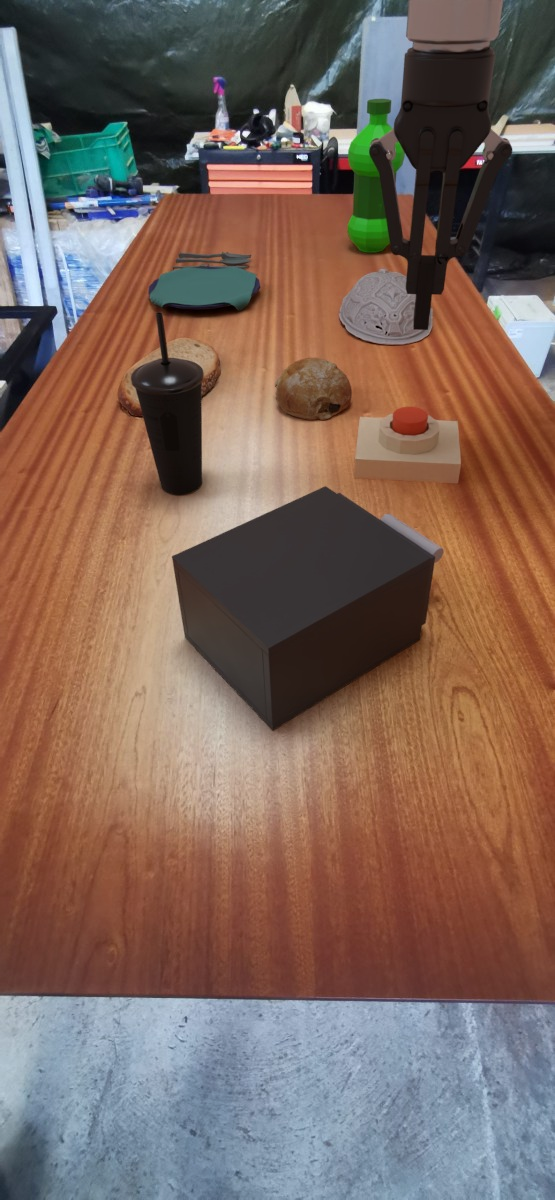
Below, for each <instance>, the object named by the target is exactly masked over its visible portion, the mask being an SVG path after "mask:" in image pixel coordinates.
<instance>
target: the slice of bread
mask: <svg viewBox="0 0 555 1200" xmlns="http://www.w3.org/2000/svg"><path fill="white" fill-rule="evenodd" d="M166 344H167V352H168V358H178V359H184V360H189V361H192V362H195V363H197V364H198V365H200V366H201V367H202V369H203V372H204V377H203V380H202V382H201V397H204V396H205V395H206V394H207V393H208V392H210V391H211V389H212V388H214V387H215V384H216V380H217V379H218V378H219V377H220V376H221V371H222V369H221V368H222V367H221V360H220V357H219V354H218V353H217V351H216V350H215V348H214V346H212V345H210V344H209V343H207V342H204V341H202V340H200V339H195V338H192V337H177V338H175V339H172V340H170V341H167V342H166ZM157 359H162V356H161V349H160V346H158V347H157V348H156V349H153V350H152V351H151V352H148V354H146V355H145V356H143V358H140V360H138V361H136V362H135V363H134V364H133V365H132V366H131V367H130V368H127V370H126V371H125V373H124V374H123V376H122V378H121V381H120V383H119V386H118V388H117V393H116V396H117V398H118V400H119V402H120V404H121V406H122V407H123V408H125V409H126V410H128V412H129V413H130V415H132V416H134V417H143V415H142V411H141V407H140V403H139V400H138V396H137V392H136V388H135V387H134V386H133V385H132V382H131V375H132V373H133V372H134V370H135V369H137V368H138V367H140V366H142V365H144V364H146V363H149V362H151V361H154V360H157Z"/></svg>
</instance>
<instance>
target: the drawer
mask: <svg viewBox="0 0 555 1200" xmlns="http://www.w3.org/2000/svg"><path fill="white" fill-rule="evenodd" d="M336 493H337V494H338V495H340V496H341V497H343V498H344V499H346V500H347V501H349V502H350V503H351V504H353V505H354V506H356V507H357V508H359V509H360V510H362V511H363V512H365V513H366V514H368V515H369V516H371V517H372V518H374V519H375V520H377V521H378V522H380V523H381V524H383V525H384V526H386V527H387V528H389V529H390V530H392V531H393V532H395V533H396V534H398V535H399V536H401V537H402V538H404V539H405V540H407V541H408V542H409V543H411V544H412V545H414V546H415V547H417V548H418V549H420V550H421V551H423V552H424V553H426V554H427V555H429V556H430V557H432V559H431V566H430V573H429V580H428V587H427V594H426V601H425V608H424V615H423V622H422V626H424V625H425V624H426V623H427V616H428V610H429V603H430V596H431V589H432V582H433V577H434V576H433V575H434V568H435V564H436V563H438V562H439V561H440V560H441V559H442V557H443V556H444V553H445V551H444V548H443V547H442V546H440V545H439V544H437V543H435V542H434V541H432V540H431V539H429V538H427V537H426V536H424V535H423V534H422V533H420V532H418V531H417V530H416V529H414V528H413V527H411V526H409V525H408V524H407V523H404V522H403V521H402V520H400V519H399V518H397V517H396V516H394V515H393V514H391V513H385V514H384V515H382V516H381V518H378V517H377V516H376V515H374V514H372V513H371V512H369V511H368V510H367V509H365V508H364V507H362V506H360V505H359V504H358V503H356V502H354V501H353V500H351V499H350V498H349V497H347V496H345V495H344V494H342V493H341V492H336Z"/></svg>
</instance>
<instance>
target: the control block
mask: <svg viewBox="0 0 555 1200" xmlns="http://www.w3.org/2000/svg"><path fill="white" fill-rule="evenodd" d="M392 421H393V413H389V414H387V415H385V416H384V417H375V416H373V417H372V416H360V417H359V421H358V430H357V438H356V445H355V454H354V465H353V466H354V468H353V478H354V479H362V480H363V479H364V480H384V481H403V482H404V481H406V482H421V483H442V484H459V480H460V475H461V467H462V457H461V456H462V455H461V446H460V433H459V421H458V420H444V419H443V420H441V419H435V418H434V417H432V416H431V415H428V420H427V428H426V431H425V432H424V433H423V434H419V435H415V436H412V435H402V434H399V433H396V432H394V431H393V429H392Z"/></svg>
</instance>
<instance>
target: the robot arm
mask: <svg viewBox="0 0 555 1200" xmlns="http://www.w3.org/2000/svg"><path fill="white" fill-rule="evenodd" d="M503 3H504V0H408V5H407V17H406V32H405V37H406V38H407V40H408V42H412V47H409V48H408V49H407V52H405V53H404V58H403V71H402V83H401V84H402V85H401V87H402V88H401V98H400V108H399V111H398V113H397V115H396V117H395V119H394V123H393V127H392V128H393V129H392V130H390V131H389V132H388V133H386V134H385V135H384V136H382V137H381V138H380V139H379V138H375V139H373V140H372V141H371V144H370V148H369V154H370V157H371V159H372V161H373V162H374V164H375V166H376V168H377V170H378V172H379V176H380V182H381V189H382V195H383V202H384V208H385V215H386V221H387V228H388V234H389V241H390V243H389V246H390V251H391V254H392V255H394V256H400V257H403V258H404V259H405V260H406V261H407V267H406V275H405V276H406V291H407V294H416V298H415V308H414V318H413V329H414V330H428V325H429V317H430V308H431V307H432V298H433V295H439V296H440V295H442V294H443V293H444V290H445V283H446V276H447V268H448V264H449V261H450V260H452V259H454V258H456V257H465V256H466V255H467V254H468V252H469V249H470V246H471V244H472V241H473V239H474V236H475V233H476V231H477V228H478V225H479V223H480V220H481V217H482V215H483V212H484V210H485V208H486V205H487V202H488V200H489V196H490V194H491V191H492V188H493V186H494V183H495V180H496V178H497V175H498V173H499V172H500V171H501V169H502V168H503V166H504V165H505V164H506V163H507V161H508V160H509V159H510V157H511V156H512V154H513V146H512V145H511V142H510V140H509V139H508V138H506V137H501V136H500V135H499V134H498V133H497V132H495V131H494V129H492V119H491V116H490V113H489V103H490V95H491V89H492V83H493V81H492V80H493V76H494V75H493V73H494V66H495V61H496V59H495V58H496V52H495V51H494V48H493V47H491V44H490V43H491V42H492V41H495V40H496V39H497V38H498V36H499V33H500V26H501V19H502V11H503V5H504V4H503ZM397 142H399V143H400V145H401V147H402V149H403V151H404V152H405V156H406V158H407V160H408V162H409V163H410V166H411V167H412V168H414V169H415V175H414V176H415V179H414V189H413V198H412V199H413V201H412V210H411V222H410V230H409V231H410V232H409V239H406V238H404V233H403V228H402V227H403V225H402V219H401V212H400V206H399V198H398V191H397V185H396V184H395V177H394V170H393V165H392V161H393V160H394V158H395V156H396V149H395V145H396V143H397ZM482 144H484V147H483V149H482V151H481V154H482V155H481V156H482V159H483V162H482V165H481V166H480V169H479V172H478V175H477V177H476V180H475V183H474V186H473V189H472V190H471V191H472V192H471V193H470V197H469V199H468V202H467V205H466V208H465V210H464V212H463V216H462V219H461V222H460V225H459V227H458V230H457V233H456V235H455V238H454V239H452V231H453V222H454V214H455V206H456V199H457V198H456V197H457V189H458V185H459V178H460V170H461V169H462V168H464V167H465V166H466V165H467V163H468V162H469V161H470V159H471V158H472V157H473V156H474V154H475V153H476V152H477V151H478V149H479V148H480V147H481V146H482ZM434 172H441V173H442V183H441V193H440V202H439V210H438V220H437V228H436V237H435V247H434V254H422V253H423V245H424V235H425V227H426V226H425V225H426V224H425V223H426V214H427V206H428V197H429V196H428V195H429V189H430V188H429V187H430V179H431V173H434Z"/></svg>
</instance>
